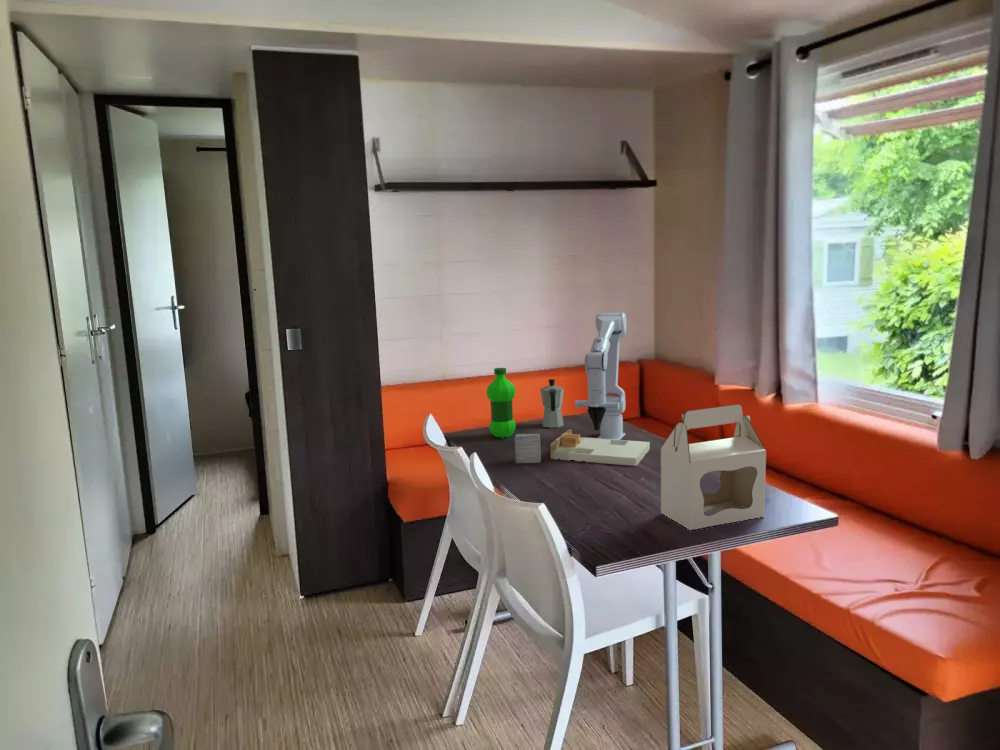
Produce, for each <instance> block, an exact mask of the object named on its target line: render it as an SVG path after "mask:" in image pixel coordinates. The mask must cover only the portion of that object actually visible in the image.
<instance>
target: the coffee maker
mask: <svg viewBox="0 0 1000 750" xmlns="http://www.w3.org/2000/svg"><path fill="white" fill-rule="evenodd" d="M555 382H556V380H555V379H554V378H551V379H548V383H549V384H548V385H547V386H543V387H541V388H540V394H541V395H540V396H541V401H542V406H543V407H544V409H543V417H542V425H543V426H542V428H543V427H549V428H550V427H561V426H564V427H565V424H564V418H563V412H562V405H563V401H564V392H565V391H564V390H565V388H564V387H561V386H559V385H555ZM561 428H562V427H561Z"/></svg>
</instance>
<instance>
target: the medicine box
mask: <svg viewBox="0 0 1000 750" xmlns="http://www.w3.org/2000/svg"><path fill="white" fill-rule="evenodd" d="M514 449H515V450H514V452H515V464H540V463H541V461H542V457H541V456H542V454H541V453H542V451H541V434H540V433H519V434H518V433H517V434H515V436H514Z"/></svg>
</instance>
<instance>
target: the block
mask: <svg viewBox="0 0 1000 750" xmlns="http://www.w3.org/2000/svg"><path fill="white" fill-rule="evenodd" d="M563 434H564V433H563ZM580 437H581V434H577V433H576V434H575V433H572V434H564V435H563V436H562V437H561V446H569V447H576V446H577V445H579V444H580Z"/></svg>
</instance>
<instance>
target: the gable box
mask: <svg viewBox="0 0 1000 750" xmlns="http://www.w3.org/2000/svg"><path fill="white" fill-rule="evenodd" d="M680 417H681V421H682V422H678V423H677V424H675V425H674V429H673V430H672V432H671V433H670V435H669V436H668V438H667V439H666V441H665V442H664V443H663V445H662V446H661V448H660V514H661V513H662V514H661V515H663V514H664V515H665V516H664V515H663V516H664V517H666V516H667V517H668V518H667V517H666V518H667V519H669V518H670V519H669V520H671V519H672V520H674V521H676V522H678V523H679V524H681V525H683V526H684V527H686V528H687V529H689V530H692V529H698V528H703V527H707V526H714V525H719V524H724V523H730V522H736V521H743V520H748V519H753V520H755V519H754V518H758V519H760V518H759V517H764V516H766V515H765V514H766V510H765V509H766V476H767V475H766V473H767V472H766V470H767V469H766V468H767V467H766V466H767V449H766V448H765V445H764V444H763V443H762V441H761V438H760V437H759V435H758V433H757V432H756V430H755V428H754V426H753V424H752V422H751V415H749V414H748V415H745V414H743V407H742V405H740V404H737V403H736V404H730V405H722V406H715V407H706V408H700V409H699V408H698V409H693V410H686V411H685V412H684V413H682V414H680ZM728 424H736V425H735V430H734V433H733V437H727V438H721V439H714V440H707V441H700V442H694V443H689V435H688V431H689V430H690V431H691V430H692V429H698V428H699V429H700V428H705V427H706V428H708V427H713V426H720V425H728ZM717 471H721V472H720V475H719V481H720V488H719V489H718V491H716V492H708V491H702V489H701V479H702V477H703V476H704V475H706V474H707V473H711V472H717ZM732 500H733V501H732ZM743 506H744V507H743ZM720 507H721V508H722V509H723V510H722V509H721V508H720ZM745 507H746V508H745ZM725 508H726V509H725ZM709 509H710V510H711V511H712V509H714V510H715V511H716V509H717V510H718V512H717V513H715V514H713V515H710V516H706V515H704V512H706V511H707V510H708V511H710V510H709ZM719 509H721V511H719ZM708 511H707V512H708ZM711 511H710V512H711ZM764 518H765V517H764ZM672 520H671V521H672ZM674 521H673V522H674ZM748 521H749V520H748ZM743 522H744V521H743ZM679 524H678V525H679ZM687 529H686V530H687Z"/></svg>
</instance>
